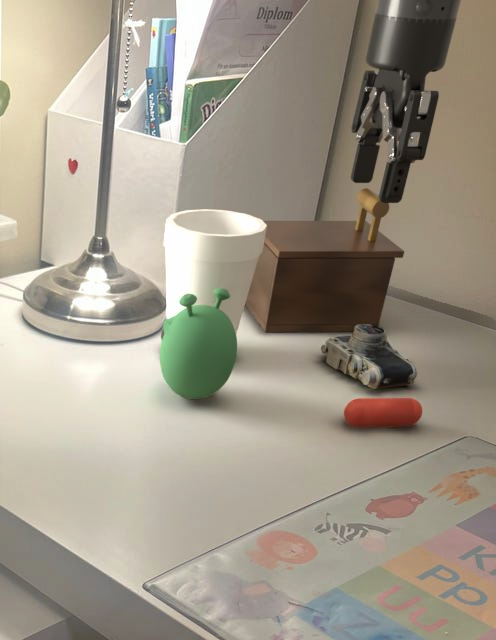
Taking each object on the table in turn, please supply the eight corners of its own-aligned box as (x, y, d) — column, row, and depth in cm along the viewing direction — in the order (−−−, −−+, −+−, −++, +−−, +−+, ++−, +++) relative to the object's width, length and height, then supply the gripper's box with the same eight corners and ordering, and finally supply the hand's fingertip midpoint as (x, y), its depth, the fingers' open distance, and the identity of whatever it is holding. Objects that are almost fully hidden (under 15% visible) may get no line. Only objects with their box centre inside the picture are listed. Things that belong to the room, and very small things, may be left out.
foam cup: (233, 378, 96) (255, 241, 88) (142, 363, 99) (156, 228, 91) (251, 345, 103) (273, 215, 95) (166, 332, 106) (181, 205, 98)
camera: (370, 395, 93) (380, 352, 91) (313, 355, 101) (322, 315, 99) (415, 389, 95) (427, 347, 92) (356, 350, 102) (365, 311, 100)
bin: (342, 296, 116) (357, 227, 111) (377, 331, 107) (395, 258, 102) (238, 296, 115) (249, 227, 111) (264, 332, 106) (277, 258, 101)
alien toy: (189, 373, 97) (202, 270, 91) (245, 400, 92) (263, 294, 86) (135, 389, 94) (145, 283, 87) (190, 418, 89) (205, 308, 83)
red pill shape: (411, 418, 89) (419, 393, 88) (422, 430, 87) (430, 404, 86) (337, 419, 89) (343, 393, 87) (346, 431, 87) (352, 405, 86)
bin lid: (364, 227, 111) (375, 180, 108) (403, 258, 102) (415, 208, 99) (249, 227, 111) (257, 180, 108) (278, 258, 101) (286, 208, 98)
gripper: (487, 20, 88) (435, 210, 98) (425, 4, 99) (384, 176, 109) (406, 18, 88) (363, 209, 98) (353, 2, 99) (319, 175, 109)
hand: (374, 191), depth 104 cm, fingers open, 8 cm apart
